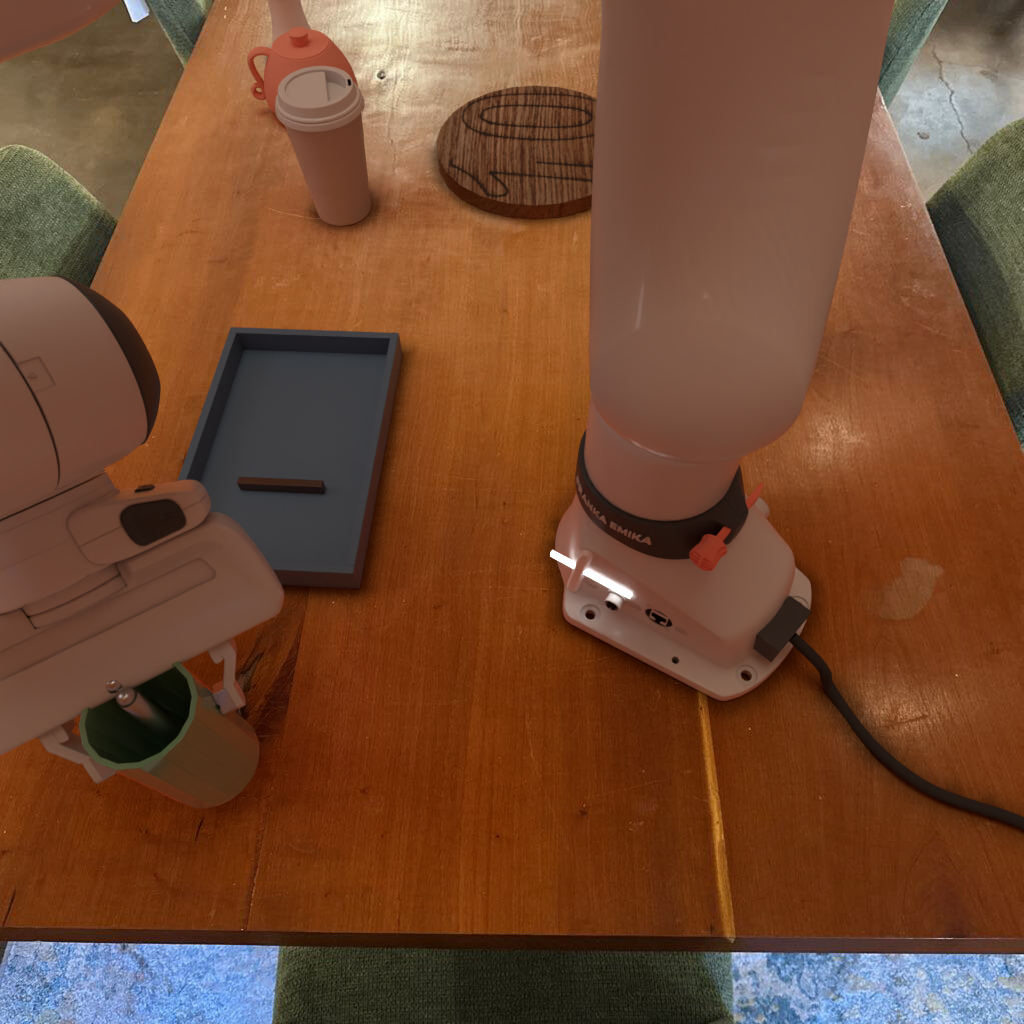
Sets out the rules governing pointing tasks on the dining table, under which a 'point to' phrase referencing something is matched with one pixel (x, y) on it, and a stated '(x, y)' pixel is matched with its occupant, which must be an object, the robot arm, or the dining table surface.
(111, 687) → the tong
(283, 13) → the vase
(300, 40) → the sugar bowl
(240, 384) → the tray
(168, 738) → the ball-tipped brown rod
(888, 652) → the dining table surface
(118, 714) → the green cup
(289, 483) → the bar
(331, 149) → the coffee cup
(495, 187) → the trivet
